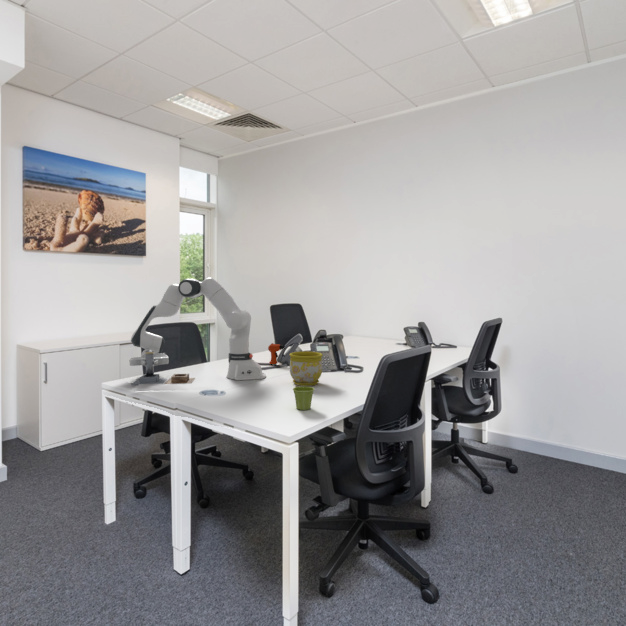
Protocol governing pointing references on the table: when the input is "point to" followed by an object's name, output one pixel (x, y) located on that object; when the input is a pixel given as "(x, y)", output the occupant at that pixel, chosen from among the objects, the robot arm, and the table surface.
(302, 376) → the flowerpot
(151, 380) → the rack block
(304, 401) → the plant pot
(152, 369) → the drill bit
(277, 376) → the table surface
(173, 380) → the socket block
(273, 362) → the toy drill
